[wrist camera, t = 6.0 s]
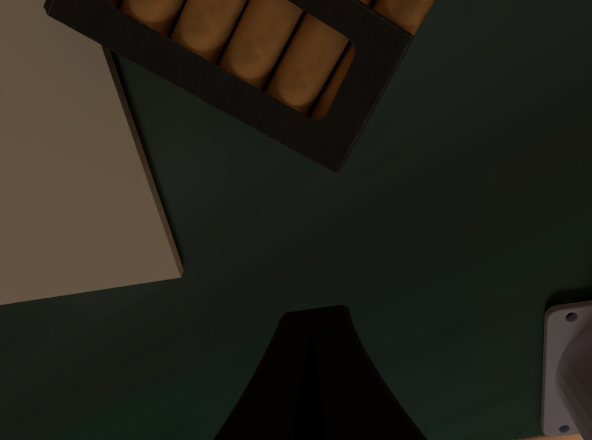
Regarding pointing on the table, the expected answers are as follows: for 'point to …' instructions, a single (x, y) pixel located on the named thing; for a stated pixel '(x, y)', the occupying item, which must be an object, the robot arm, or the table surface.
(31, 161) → the mat
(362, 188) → the table surface
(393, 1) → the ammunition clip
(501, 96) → the table surface
